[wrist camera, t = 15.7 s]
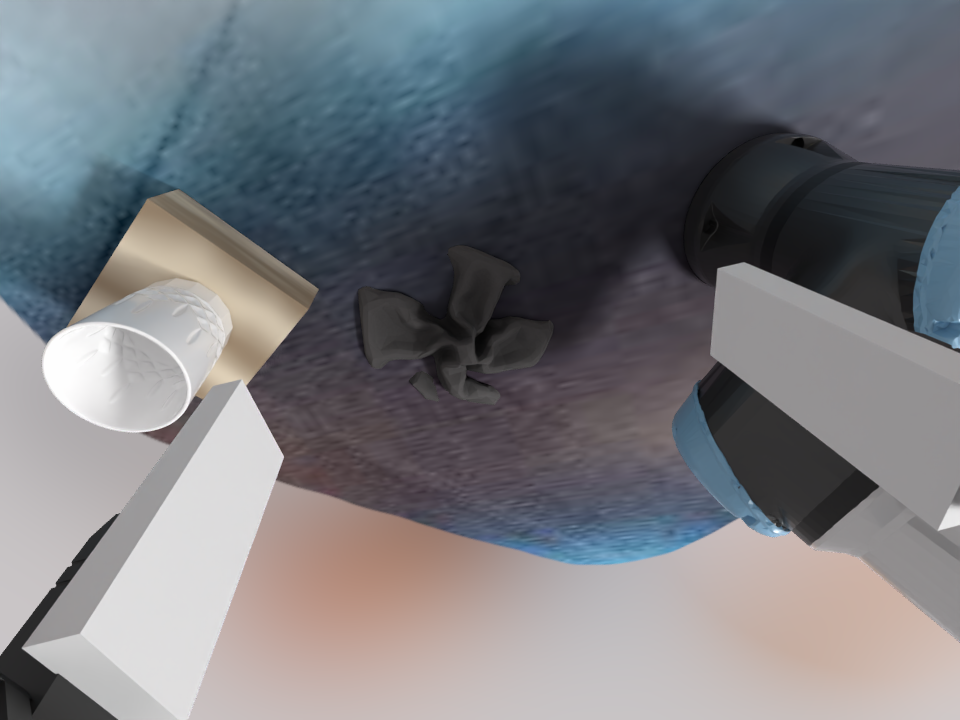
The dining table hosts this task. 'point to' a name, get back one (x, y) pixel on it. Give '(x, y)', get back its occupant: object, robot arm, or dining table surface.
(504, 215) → the dining table surface
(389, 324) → the cloth
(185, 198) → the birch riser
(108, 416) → the white cup
